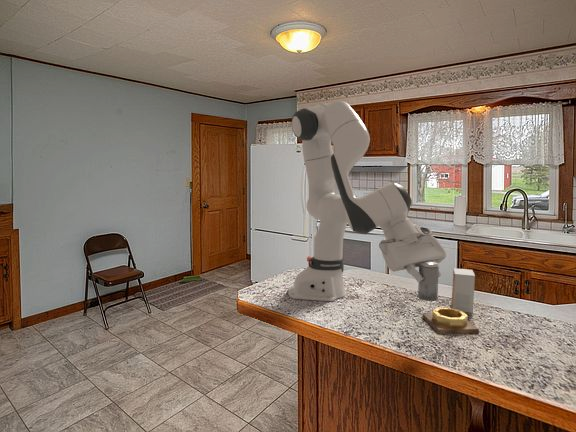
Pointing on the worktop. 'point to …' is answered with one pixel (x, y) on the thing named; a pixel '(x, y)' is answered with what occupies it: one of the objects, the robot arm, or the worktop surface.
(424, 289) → the grey metal cylinder
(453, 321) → the ring
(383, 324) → the worktop surface
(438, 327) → the board
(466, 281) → the small box
